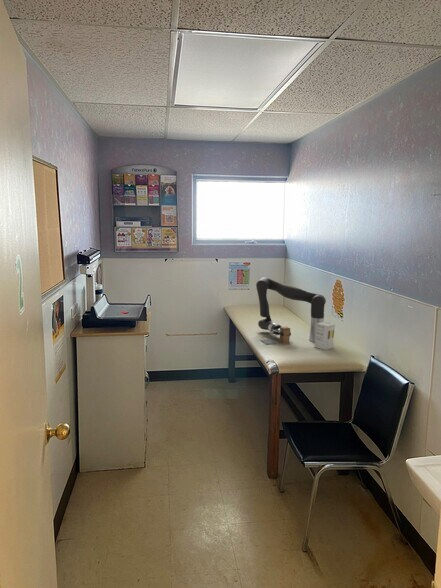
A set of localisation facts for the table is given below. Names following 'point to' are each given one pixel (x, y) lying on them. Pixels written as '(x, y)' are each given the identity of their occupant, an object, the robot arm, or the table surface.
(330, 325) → the supplement box
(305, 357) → the table surface
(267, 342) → the mat
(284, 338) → the walnut block
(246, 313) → the table surface
